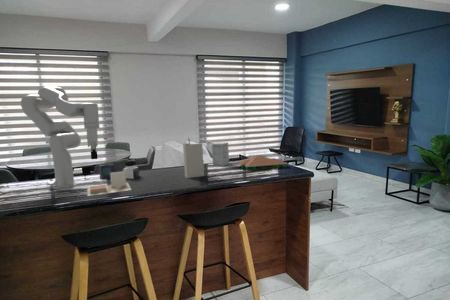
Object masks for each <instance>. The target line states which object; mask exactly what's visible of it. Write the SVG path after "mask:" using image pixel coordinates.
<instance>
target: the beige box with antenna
mask: <svg viewBox="0 0 450 300" xmlns="http://www.w3.org/2000/svg"><path fill="white" fill-rule="evenodd" d="M187 139H188V140H187V142H188V143H183V144H182V146H183V147H182V148H183V150H182V151H183V163H184V165H183V166H184V178H187V179H191V178H198V177H205V165H204V155H203V154H204V153H203V151H204V150H203V143H202V142H198V143H190V141H191V139H190V137H188V138H187Z"/></svg>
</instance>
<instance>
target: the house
mask: <svg viewBox="0 0 450 300" xmlns="http://www.w3.org/2000/svg"><path fill="white" fill-rule="evenodd" d="M237 164H238V165H239V166H240V167H241V169H242V170H244V169H245V170H246V171H249V170H253V171H257V167H262V170H264V169H265V167H268V166H273V169H276V168H277V169H280V167H282V169H283V168H284V169H285V168H287V166H288V163H287V162H286V161H283V160H281V159H278V158H271V157H267V156H263V155H256V156H252V157H248V158H244V159H241V160H238V161H237Z"/></svg>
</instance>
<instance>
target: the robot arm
mask: <svg viewBox="0 0 450 300" xmlns="http://www.w3.org/2000/svg"><path fill="white" fill-rule="evenodd" d="M37 91H38V92H37V94H27V95H24V96H22V97H21V100H20V106H21V109H22V112H23V113H24V115H25V116H26V117H27V118H29V120H31V121H32V122H33V123H34V124H35V126H36V127H37V128H38V130H39V131H40V132H41V133H42V134H43V135H44V136H45V137H46V138H47V137H48V138H49V139H48V145H49V147H50V151H51V156H52V163H53V169H54V170H53V172H54V178H55V179H54V180H52V181H47V183H46V185H47V186H53V187H52V188H53V189H54V190H60V189H65V188H70V187H73V186H74V187H75V186H77V185H78V183H77V182H75V179H74V169H73V161H72V160H73V159H72V155H71V153H70V152H69V151H68V150H70V149H75V148H78V147H79V146H80V145H81V143H82V141H81V137H80V135H79V134H78V133H77V131H76V130H75V129H74V128H73V127H72V125H71V124H70V123H69V122H68V121H66V120H63V119H56V120H55V119H52V118H51V117H50V116H49V115H48V114H47V113H46V112H44V111H43V110H46V109H47V110H49V109H52V108H54V107H55V109H56V110H57V112H58V113H60V114H61V115H64V116H67V117H70V118H71V117H73V118H77V117H83V127H84V130H86V140H87V141H86V142H87V147H88V148H90V159H91V160H97V159H98V150H97V148H98V143H99V141H98V139H99V138H98V137H99V136H98V129H100V117H99V106H98V103H96V102H70V101H69V97H68V95H67V93H66V91H65V89H63V88H62V87H59V86H49V85H48V86H41V87H40V88H39V89H38V90H37Z"/></svg>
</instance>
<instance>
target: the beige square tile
mask: <svg viewBox="0 0 450 300" xmlns="http://www.w3.org/2000/svg"><path fill="white" fill-rule="evenodd" d="M109 179H110V185H111V187H117V186H125V185H126V183H127V178H126V177H125V171H123V170H121V171H114V172H112V173H110V178H109Z"/></svg>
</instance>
